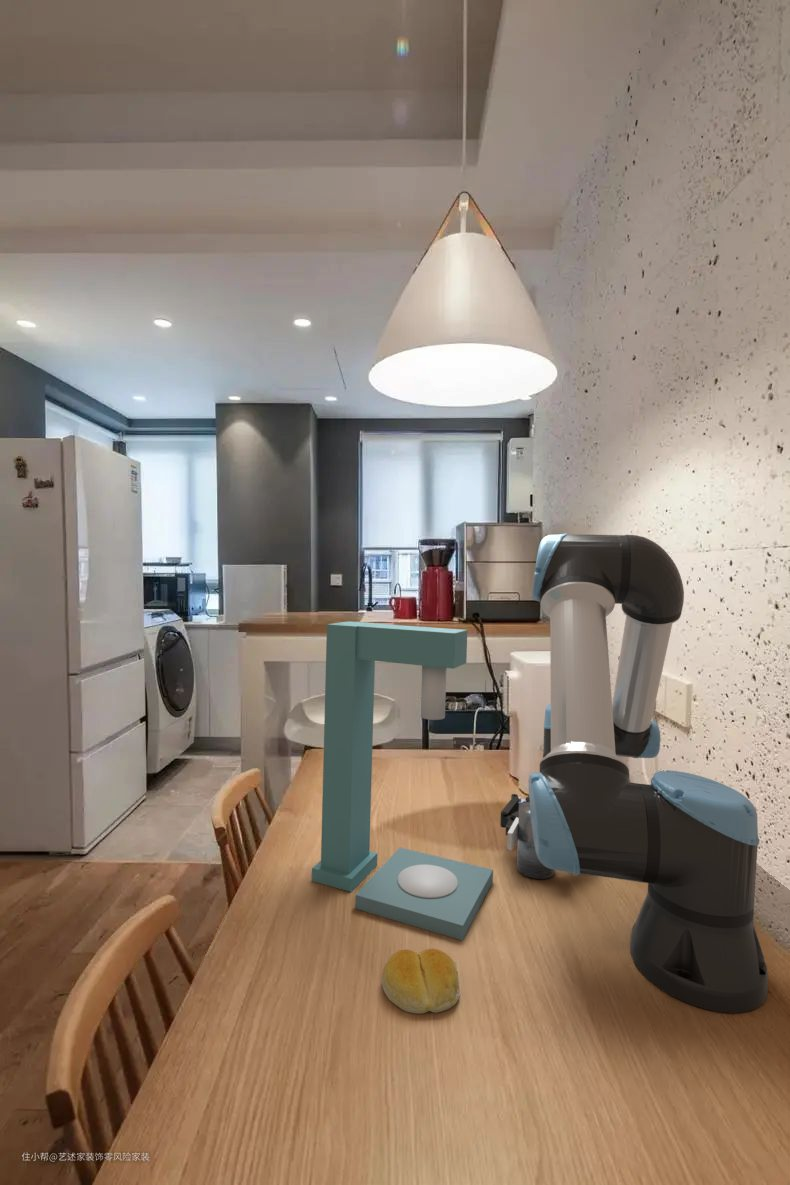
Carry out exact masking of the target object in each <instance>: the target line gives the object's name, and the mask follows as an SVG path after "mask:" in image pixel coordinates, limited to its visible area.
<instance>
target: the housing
mask: <svg viewBox="0 0 790 1185" xmlns="http://www.w3.org/2000/svg"><path fill="white" fill-rule="evenodd" d="M516 852H517V853H516V869H517V870H518V872H519V873H520V874H522V875H524V876H526V877H528V878H532V879H537V880H543V879H544V880H545V879H549V878H552V876H554V875H555V870H553V869H549V868H547V867H545V866H544V865H543V864H542V863H541V862H540V861H539V859H538V857H537V854H536V850H535V845H534V839H533V832H532V823H531V814H530V802H525V803H522V804H520V805H519V821H518V839H517V850H516Z"/></svg>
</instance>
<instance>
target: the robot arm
mask: <svg viewBox="0 0 790 1185" xmlns="http://www.w3.org/2000/svg"><path fill="white" fill-rule="evenodd" d="M531 594H532V595H531V596H532V599H533V600H534V601H535V602H536V601H537V602H539V603H540V607H541V610H542V612H543V613H544V615H545V616H547V617H548V618H549V620H550V621H549V622H550V625H549V626H550V627H549V633H550V636H549V637H550V639H549V640H550V642H549V644H550V648H549V649H550V654H549V655H550V663H549V664H550V703H549V704H548V705H546V707H545V713H544V723H543V745H542V746H543V748H542V750H543V751H542V752H543V753H542V758H541V760H540V761H539V772H538V771H535V772H533V773H530V775H529V776H528V796H526V798H522V797H521V796H519V795H518V794H516V793H512V794H511V795H510V796H511V798H510V800H509V802H508V803H507V804H506V805H505V806H504V808H502V810H501V811H500V820H499V821H500V822H499V824H500V825H499V826H500V827H501V828H504V829H505V836H507V837H506V838H507V840H506V850H508V851H513V849H514V847H515V845H516V843H517V842H518V821H519V805H520V804H522V803H525V802H530V814H531V823H532V832H533V839H534V845H535V850H536V854H537V857H538V859H539V861H540V862H541V863H542V864H543V865H544V866H545V867H547V868H549V869H553V870H554V871H559V872H565V873H568V874H569V873H571V874H572V875H573V876H579V875H583V876H584V875H585V876H594V877H601V878H610V879H615V880H616V879H617V880H625V881H630V882H638V883H645V884H647V892H646V893H647V894H646V896H645V899H644V900H643V903H642V905H641V908H640V910H639V913H638V914H637V917H636V921H635V923H634V924H633V926H632V929H631V932H630V948H629V949H630V950H629V951H630V953H629V954H630V956H631V959H632V961H633V963H634V965H635V966H636V968H637V969H638V971H639V972H640V973H641V974H642V975H643V976H644V978H646V979H647V980H648V981H649V982H650V983H651V984H652V985H654V986H656V987H657V988H659V989H660V990H661V991H663V992H665V993H666V994H668V995H670V996H672V997H674V998H676V999H677V1000H679V1001H683V1002H685V1003H687V1004H689V1005H692V1006H694V1007H695V1006H696V1007H698V1008H701V1009H704V1010H709V1011H713V1012H714V1011H715V1012H721V1013H732V1014H733V1013H744V1012H749V1011H753V1010H755V1009H758V1008H759V1007H760V1006H762V1005H763V1004H764V1003H765V1002H766V1000H767V997H768V988H769V986H768V985H769V972H768V966H767V963H766V960H765V956H764V954H763V951H762V950H763V949H762V947H761V943H760V940H759V937H758V933H757V929H756V926H755V923H754V914H755V913H754V911H755V899H756V898H755V894H756V875H757V862H758V861H757V859H758V847H759V844H760V839H759V833H758V832H759V830H758V826H759V825H758V813H757V812H758V811H757V809H756V807H755V805H754V803H752V802H751V800H750V799H749V798H748V797H747V796H745V795H744V794H742V793H741V792H739V791H738V790H736V789H734V788H732V787H730V786H728V785H725V784H723V783H722V782H719V781H716V780H714V779H710V778H707V777H704V776H702V775H697V774H695V773H689V772H686V771H685V772H684V771H677V770H670V769H669V770H664V771H663V770H659V771H656V772H654V774H653V776H652V777H651V778H650V784H646V783H637V782H631V779H630V770H629V769H630V768H629V766H628V764H627V763H626V762H625V761H624V760H623V759H621V758H620V757H625V758H633V759H653V758H654V759H655V758H656V757H657V756H658V754H660V749H661V732H660V731H661V730H660V727H659V725H658V723H657V722H656V721H655V720H653V715H654V710H655V706H656V702H657V697H658V693H659V687H660V683H661V679H662V678H661V677H662V673H663V669H664V664H665V660H666V655H667V651H668V646H669V640H670V636H671V631H672V628H673V624H674V623H676V622H678V621H679V619H680V618H681V616H682V611H683V607H684V604H685V602H684V601H685V600H684V598H685V589H684V584H683V580H682V577H681V574H680V572H679V569H678V567H677V565H676V563H675V562H674V560H673V559H672V557H671V556H670V555H669V553H668V552H667V551H666V550H665V549H664V548H663V547H662V546H661V545H659V544H657V543H656V542H655V541H653V540H651V539H649V538H647V537H645V536H641V535H635V534H624V535H623V534H622V535H621V534H585V533H584V534H583V533H582V534H578V533H577V534H575V533H573V534H571V533H569V532H567V533H566V532H563V533H561V534H559V533H558V534H557V533H556V534H548V535H546V536H544V537H543V538H542V539H541V540H540V543H539V545H538V550H537V556H536V559H535V569H534V574H533V583H532V593H531ZM616 604H618V605H620V604H621V611H622V613H623V614H624V615H625V622H624V628H623V634H622V638H621V639H622V641H621V647H620V653H619V660H618V664H617V665H618V666H617V671H616V678H615V685H614V691H613V698H612V686H611V672H610V658H609V655H610V654H609V644H608V643H609V642H608V641H609V640H608V630H607V629H608V628H607V616H609V615H610V614H611V613H612V611H614V608H615V606H616Z"/></svg>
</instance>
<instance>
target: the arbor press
mask: <svg viewBox="0 0 790 1185" xmlns="http://www.w3.org/2000/svg"><path fill="white" fill-rule="evenodd" d="M467 649H468V629H461V628H459V629H458V628H447V627H446V628H445V627H429V626H416V625H415V626H414V625H400V624H388V623H387V624H386V623H376V622H364V621H363V622H362V621H343V622H335V623H329V624H326V648H325V650H326V653H325V654H326V655H325V680H324V681H325V684H324V686H325V687H324V688H325V689H324V692H325V693H324V719H323V720H324V721H323V722H324V723H323V725H324V726H323V730H324V731H323V760H322V761H323V765H322V766H323V767H322V768H323V769H322V802H321V804H322V807H321V810H322V811H321V842H320V843H321V844H320V845H321V846H320V861H318V862H317V863H316V864H315V865H313V867H311V882H314V883H317V884H323V885H325V886H329V887H333V888H336V889H338V890H339V889H340V890H342V891H346V892H350V893H352V892H353V891H354V890H355V889H356V888H357V887H358V885H360V884H361V883H362V882H363V880H364V879H366V878H367V876H368V875H369V874H370V873H371V872H372V871H373V870H374V869H375V868H376V867H377V866H378V852H374V851H372V850H370V848H371V847H370V844H371V842H370V841H371V815H372V814H371V811H372V806H371V805H372V776H373V775H372V773H373V768H372V767H373V745H374V744H373V739H374V738H373V737H374V736H373V735H374V734H373V733H374V706H375V704H374V702H375V701H374V700H375V699H374V698H375V670H376V669H375V667H376V662H380V663H381V662H384V663H390V664H391V663H392V664H394V663H395V664H402V665H413V666H422V667H421V694H420V718H422V719H424V720H432V721H439V720H443V719H445V718H446V695H447V690H446V689H447V669H452V670H453V669H457V668H458V667H461V666H463V665H465V664H467V659H468V658H467V657H468V656H467V652H468V650H467ZM493 880H494V869H492V868H487V867H483V866H479V865H475V864H471V863H467V862H464V861H463V862H462V861H459V860H453V859H450V858H445V857H441V856H437V855H432V854H429V853H426V852H425V853H424V852H420V851H418V850H414V849H413V850H411V849H408V848H406V847H405V848H404V847H398V849H397V850H396V851H394V853H393V854H392V855H391V856H390V857H389V858H388V859H387V860H386V862H384V864H382V866H381V867H380V868H379V869H378V870H377V871H376V872H375V874H373V875H372V877H371V878H369V880H368V881H367V882H366V883H364V885H363V886H362V887H361V888H360V890H358V891H357V893H356V894H355V903H354V904H355V905H354V909H355V910H359V911H363V912H366V913H370V914H372V915H376V916H379V917H382V918H386V919H389V920H391V921H392V920H393V921H396V922H399V923H403V924H406V925H409V926H412V927H416V928H420V929H423V930H426V931H430V932H432V933H436V934H439V935H443V936H446V937H449V938H453V939H455V940H460V941H463V940H464V938H465V936H466V934H467V933H468V931H469V929H470V927H471V925H472V923H473V921H474V919H475V917H476V916H477V914H478V911H479V909H480V907H481V906H482V904H483V901H484V900H485V897H486V896H487V895H488V892H489V890H490V888H491V886H492V884H493Z"/></svg>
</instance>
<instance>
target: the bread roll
mask: <svg viewBox="0 0 790 1185" xmlns="http://www.w3.org/2000/svg"><path fill="white" fill-rule="evenodd" d="M457 969H458V968H457V962H455V961H454V959H453V958H452V957H451V956H450V955H449V954H447V953H446V952H445V951H443V950H439V949H437V948H428V949H425V950H423V951H421V952H419V953H417V952H416V951H414V950H411V949H401V950H398V951H396V952H395V953H393V954H392V955H391V956H390V957H389V959H388V960H387V962H386V964H384V968H383V970H382V975H381V985H382V989H383V992H384V994H385V995H386V997H387V998H388V999H389V1001H390V1002H392V1003H393V1004H394V1005H395V1006H397V1007H398V1008H400V1009H401V1010H403V1011H404V1012H407V1013H410V1014H411V1013H412V1014H417V1015H418V1014H426V1013H427V1012H432V1013H435V1014H437V1013H440V1012H444V1011H446V1010H447V1011H448V1010H449V1009H451V1008H453V1006H454V1005H456V1004H457V1002H458V1001H459V998H460V997H461V993H460V983H459V982H460V981H459V972H458V970H457Z"/></svg>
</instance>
